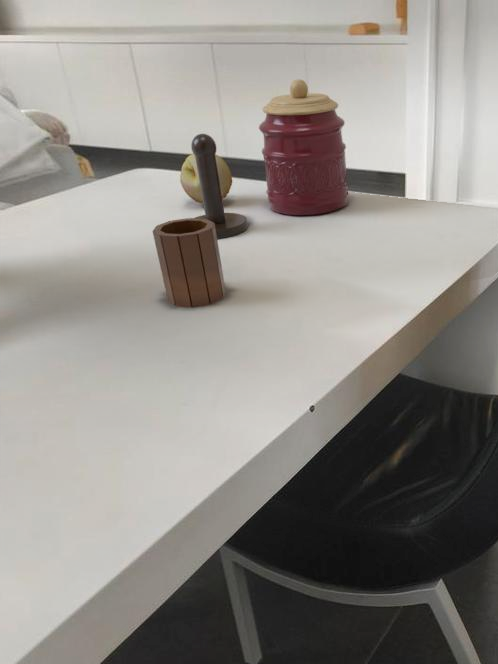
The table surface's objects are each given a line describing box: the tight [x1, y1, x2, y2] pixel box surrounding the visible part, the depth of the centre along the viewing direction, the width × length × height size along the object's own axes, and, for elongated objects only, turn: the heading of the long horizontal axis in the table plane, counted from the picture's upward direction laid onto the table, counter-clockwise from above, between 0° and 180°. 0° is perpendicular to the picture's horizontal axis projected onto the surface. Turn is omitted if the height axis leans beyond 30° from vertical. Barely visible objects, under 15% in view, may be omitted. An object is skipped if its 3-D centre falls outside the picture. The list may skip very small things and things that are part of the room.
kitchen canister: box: [258, 78, 349, 216], centre depth 105 cm, size 13×13×18 cm
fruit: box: [179, 153, 233, 205], centre depth 111 cm, size 8×8×8 cm
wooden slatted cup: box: [152, 217, 227, 308], centre depth 76 cm, size 6×7×8 cm
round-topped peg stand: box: [191, 133, 249, 240], centre depth 98 cm, size 9×9×13 cm
